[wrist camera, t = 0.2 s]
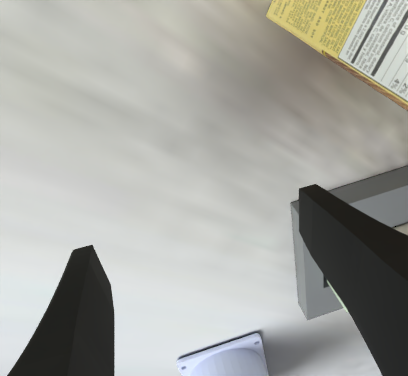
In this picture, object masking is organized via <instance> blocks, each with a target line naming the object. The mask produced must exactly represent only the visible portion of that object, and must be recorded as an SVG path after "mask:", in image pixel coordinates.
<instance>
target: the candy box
mask: <svg viewBox="0 0 408 376" xmlns="http://www.w3.org/2000/svg"><path fill="white" fill-rule="evenodd" d="M266 17H267V18H268V19H270V20H272V21H273V22H275V23H276V24H278V25H279V26H281V27H282V28H284V29H285V30H287V31H289V32H290V33H292V34H293V35H295V36H296V37H297V38H299V39H300V40H302V41H303V42H305V43H306V44H308V45H309V46H311V47H312V48H314V49H315V50H316V51H318V52H319V53H321V54H322V55H324V56H325V57H327V58H328V59H330V60H331V61H333V62H334V63H336V64H337V65H339V66H340V67H342V68H343V69H345V70H346V71H348V72H349V73H351V74H352V75H354V76H355V77H357V78H359V79H360V80H362V81H363V82H365V83H366V84H368V85H369V86H371V87H372V88H374V89H375V90H377V91H378V92H380V93H381V94H383V95H385V96H386V97H388V98H389V99H391V100H392V101H394V102H395V103H397V104H398V105H400V106H401V107H403V108H404V109H406V110H407V111H408V0H272V3H271V5H270V8H269V10H268V12H267V14H266Z"/></svg>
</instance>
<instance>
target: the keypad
mask: <svg viewBox="0 0 408 376" xmlns="http://www.w3.org/2000/svg"><path fill="white" fill-rule="evenodd" d="M328 192H330V193H331V194H333V195H334V196H336V197H338V198H339V199H341V200H343V201H344V202H346V203H348V204H349V205H351V206H353V207H354V208H356V209H358V210H359V211H361V212H363V213H365V214H367V215H368V216H370V217H372V218H374V219H376V220H378V221H379V222H381V223H383V224H385V225H387V226H389V227H394V226H397V225H400V224H403V223H406V222H408V166H406V167H403V168H400V169H396V170H393V171H390V172H387V173H384V174H381V175H377V176H374V177H371V178H368V179H365V180H362V181H358V182H355V183H352V184H349V185H346V186H343V187H340V188H336V189H333V190H330V191H328ZM291 214H292V227H293V240H294V252H295V265H296V278H297V290H298V303H299V305H300V307H301V309H302V311H303V313H304V315H305V317H306V318H307V320H310V319H312V318H315V317H318V316H321V315H324V314H327V313H330V312H333V311H336V310H339V309H342V308H343V306H342V305H341V303H340V302H339V300H338V298H337V297H336V295H335V294H334V292H333V290H332V289H331V287H330V286H329V284H328V283H327V279H326V277H325V276H324V274H323V273H322V271H321V270H320V268H319V267H318V265H317V264H316V262H315V261H314V259H313V258H312V256H311V255H310V253H309V251H308V249H307V247H306V245H305V243H304V241H303V239H302V237H301V235H300V233H299V200H298V201H295V202H292V203H291Z"/></svg>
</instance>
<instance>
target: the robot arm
mask: <svg viewBox="0 0 408 376" xmlns="http://www.w3.org/2000/svg"><path fill="white" fill-rule="evenodd" d="M299 233H300V235H301V237H302V239H303V241H304V243H305V245H306V247H307V249H308V251H309V253H310V255H311V256H312V258H313V259H314V261H315V262H316V264H317V265H318V267H319V268H320V270H321V271H322V273H323V274H324V276H325V277H326V279H327V280H328V282H329V283H330V285H331V286H332V288H333V289H334V291H335V292H336V293H337V295H338V296H339V298H340V299H341V301H342V302H343V304H344V305H345V307H346V308H347V310H348V312H349V313H350V315H351V316H352V318H353V320H354V322H355V324H356V325H357V327H358V329H359V331H360V333H361V335H362V337H363V338H364V340H365V342H366V344H367V346H368V348H369V350H370V352H371V354H372V356H373V358H374V360H375V362H376V363H377V365H378V367H379V369H380V371H381V373H382V376H408V235H406V234H404V233H402V232H399V231H397V230H395V229H393V228H391V227H389V226H387V225H385V224H383V223H381V222H379V221H378V220H376V219H374V218H372V217H370V216H368V215H367V214H365V213H363V212H361V211H359V210H358V209H356V208H354V207H353V206H351V205H349V204H348V203H346V202H344V201H343V200H341V199H339V198H338V197H336V196H334V195H333V194H331V193H330V192H328V191H326V190H325V189H323V188H321V187H320V186H318V185H316V184H314V185H310V186H307V187H303V188H299ZM177 367H178V369H179V371H180V373H181V375H182V376H269V375H268V370H267V364H266V359H265V354H264V349H263V344H262V339H261V336H260V334H258V333H255V334H252V335H249V336H246V337H243V338H240V339H237V340H234V341H231V342H228V343H225V344H222V345H220V346H217V347H214V348H211V349H208V350H205V351H202V352H199V353H196V354H193V355H190V356H187V357H184V358H181V359H179V360H178V361H177ZM7 376H114V307H113V299H112V291H111V284H110V282H109V280H108V278H107V276H106V274H105V271H104V269H103V267H102V265H101V263H100V261H99V258H98V256H97V254H96V252H95V250H94V248H93V245H89V246H86V247H82V248H78V249H75V250H73V252H72V253H71V256H70V258H69V261H68V263H67V266H66V268H65V271H64V273H63V275H62V278H61V280H60V282H59V285H58V287H57V289H56V291H55V293H54V295H53V297H52V300H51V302H50V304H49V306H48V308H47V310H46V312H45V314H44V316H43V318H42V319H41V321H40V323H39V325H38V327H37V329H36V331H35V333H34V334H33V336H32V338H31V339H30V341H29V343H28V345H27V346H26V348H25V350H24V351H23V353H22V354H21V356H20V357H19V359H18V361H17V362H16V364H15V365H14V367H13V368H12V370H11V371H10V372H9V374H8V375H7Z"/></svg>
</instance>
